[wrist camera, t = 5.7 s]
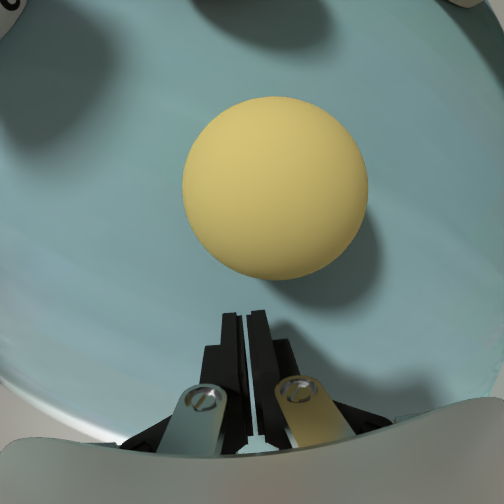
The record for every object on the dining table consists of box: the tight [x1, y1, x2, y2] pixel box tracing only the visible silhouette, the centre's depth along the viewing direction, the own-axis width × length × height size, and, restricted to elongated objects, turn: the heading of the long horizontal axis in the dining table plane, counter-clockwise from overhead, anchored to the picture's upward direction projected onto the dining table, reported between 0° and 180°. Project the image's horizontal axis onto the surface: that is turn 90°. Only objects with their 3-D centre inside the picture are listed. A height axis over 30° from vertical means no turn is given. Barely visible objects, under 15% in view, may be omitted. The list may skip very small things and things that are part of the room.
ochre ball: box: [182, 97, 368, 280], centre depth 8 cm, size 6×6×6 cm
